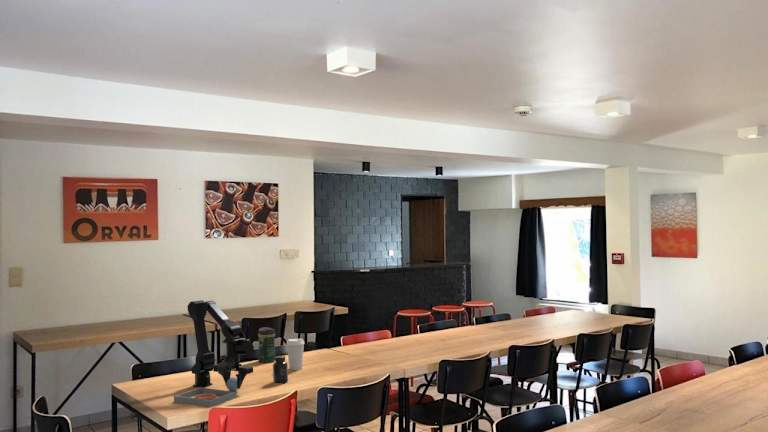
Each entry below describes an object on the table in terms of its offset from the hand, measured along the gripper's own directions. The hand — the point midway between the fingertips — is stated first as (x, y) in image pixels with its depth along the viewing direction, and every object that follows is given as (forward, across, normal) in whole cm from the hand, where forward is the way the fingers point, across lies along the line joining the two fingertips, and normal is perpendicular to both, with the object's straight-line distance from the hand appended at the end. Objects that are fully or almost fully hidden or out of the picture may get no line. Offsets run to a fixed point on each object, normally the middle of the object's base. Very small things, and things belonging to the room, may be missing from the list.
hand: (233, 388), depth 289 cm
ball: (-2, 0, 0) cm, 2 cm away
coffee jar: (+1, -26, +59) cm, 64 cm away
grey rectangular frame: (+1, -1, -17) cm, 17 cm away
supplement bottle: (+1, +10, +22) cm, 24 cm away
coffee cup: (+1, 0, +49) cm, 49 cm away
